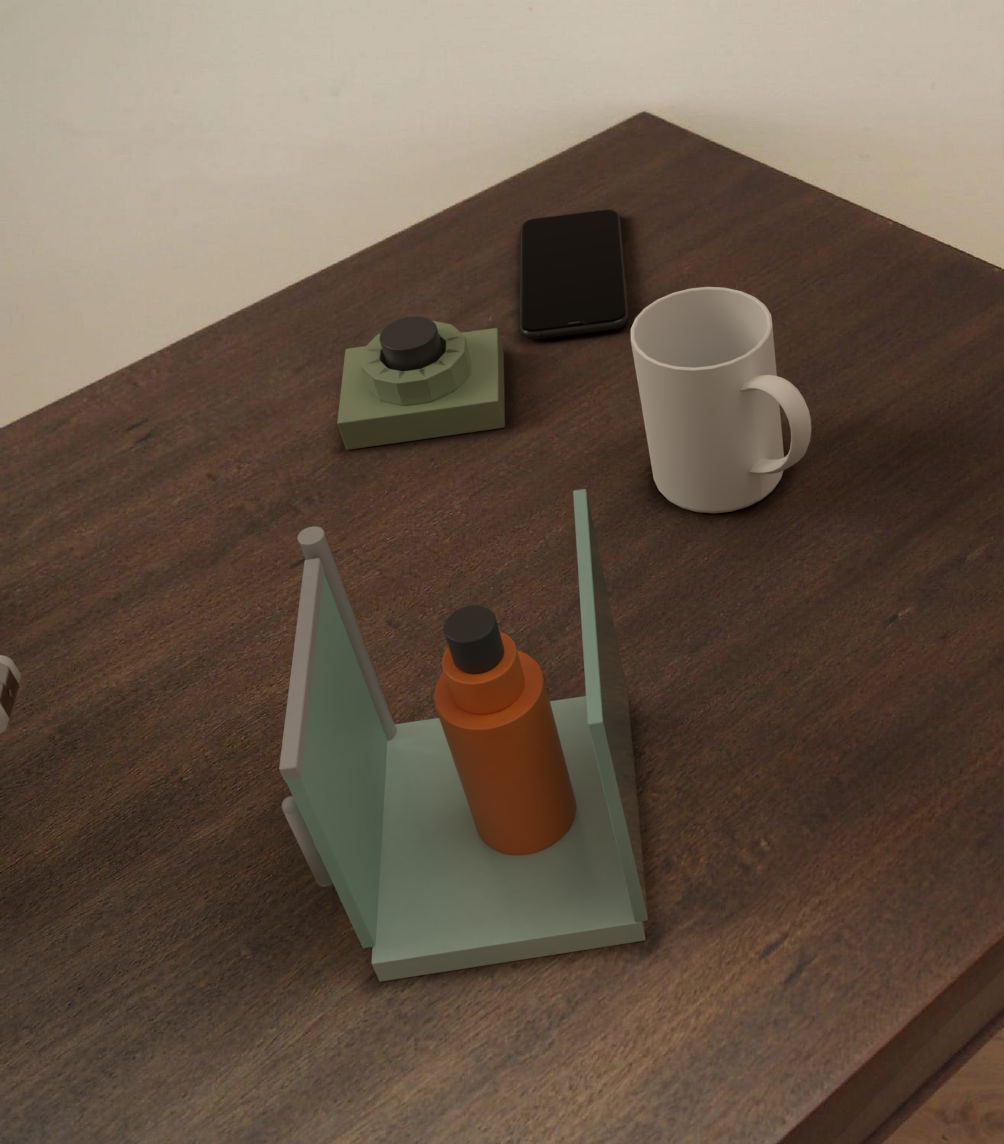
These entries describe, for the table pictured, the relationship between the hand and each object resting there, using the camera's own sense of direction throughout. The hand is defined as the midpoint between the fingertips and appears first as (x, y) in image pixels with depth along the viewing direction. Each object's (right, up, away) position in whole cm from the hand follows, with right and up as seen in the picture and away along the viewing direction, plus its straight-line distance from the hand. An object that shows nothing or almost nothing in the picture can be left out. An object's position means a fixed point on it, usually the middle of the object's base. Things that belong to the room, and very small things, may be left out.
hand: (9, 692), depth 65 cm
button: (+10, +19, +33) cm, 39 cm away
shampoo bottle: (+20, -6, +9) cm, 23 cm away
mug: (+30, +10, +27) cm, 42 cm away
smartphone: (+18, +26, +45) cm, 55 cm away
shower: (+19, -8, +10) cm, 23 cm away
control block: (+10, +16, +36) cm, 40 cm away
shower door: (+13, -8, +8) cm, 17 cm away
